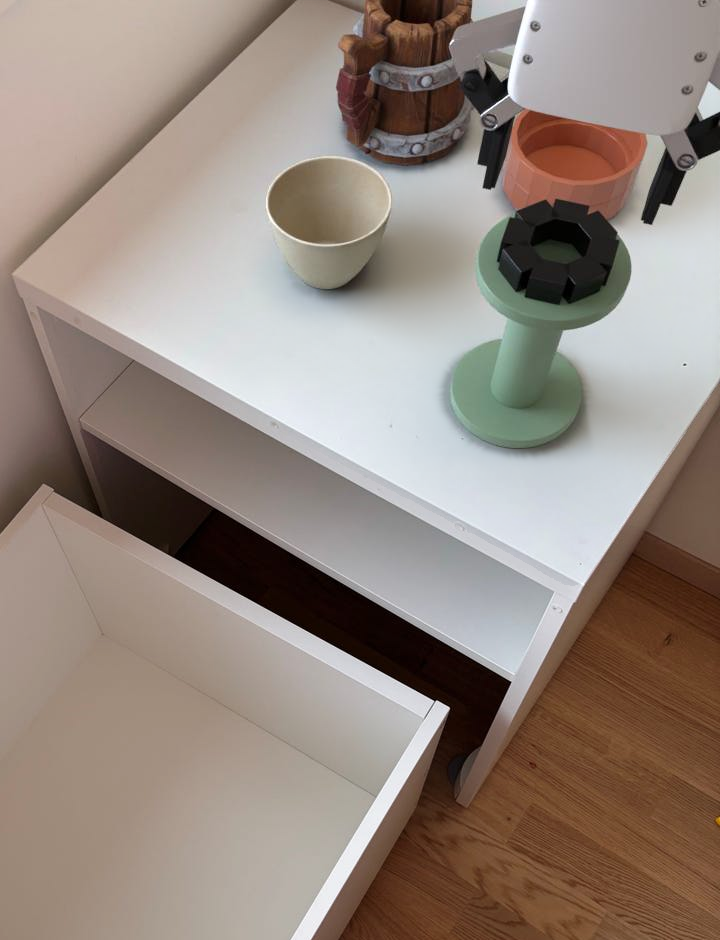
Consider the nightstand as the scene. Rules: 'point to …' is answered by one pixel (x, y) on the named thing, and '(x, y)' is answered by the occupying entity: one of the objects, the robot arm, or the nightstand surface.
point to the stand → (528, 352)
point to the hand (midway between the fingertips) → (570, 190)
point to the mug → (404, 80)
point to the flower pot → (328, 217)
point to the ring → (564, 226)
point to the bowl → (571, 162)
